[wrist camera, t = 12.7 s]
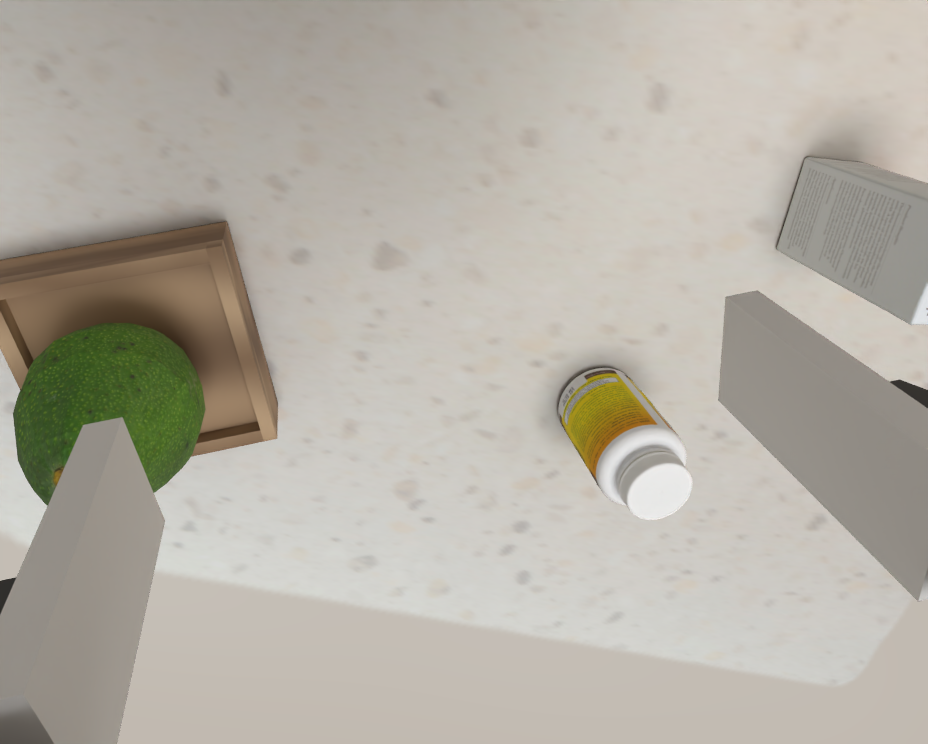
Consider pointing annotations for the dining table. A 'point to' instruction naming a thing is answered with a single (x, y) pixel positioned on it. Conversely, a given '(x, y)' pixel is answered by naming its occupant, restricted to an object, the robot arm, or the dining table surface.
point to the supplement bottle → (626, 443)
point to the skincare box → (863, 233)
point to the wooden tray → (152, 317)
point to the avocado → (108, 401)
